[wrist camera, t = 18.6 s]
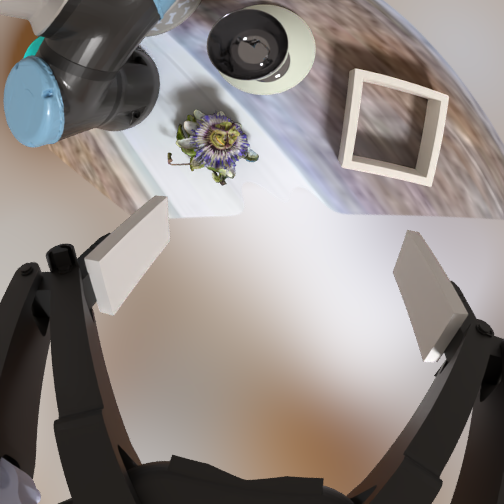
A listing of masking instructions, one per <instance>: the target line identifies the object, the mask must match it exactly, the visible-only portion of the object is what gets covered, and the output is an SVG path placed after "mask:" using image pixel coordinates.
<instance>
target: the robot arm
mask: <svg viewBox="0 0 504 504" xmlns="http://www.w3.org/2000/svg"><path fill="white" fill-rule="evenodd" d="M175 1H176V0H0V15H5V16H11V17H17V18H23V19H28V20H29V21H30V23H31V26H32V29H33V32H34V34H35V35H37V36H41V37H45V38H44V40H43V42H42V43H41V45H40V47H39V49H38V51H37V53H36V55H35V56H34V55H31V56H27V57H26V58H24V59H22V60H21V61H20V62H18V63H16V64H15V66H14V67H13V68H12V70H11V72H10V74H9V76H8V78H7V81H6V85H5V90H4V111H5V116H6V120H7V123H8V126H9V128H10V130H11V132H12V134H13V135H14V137H15V138H16V139H17V140H18V141H19V142H20V143H22V144H23V145H25V146H28V147H39V146H42V145H46V144H54V143H56V142H57V141H59V140H62V139H65V138H67V137H70V136H73V135H76V134H78V133H81V132H84V131H87V130H90V129H93V128H98V129H103V130H107V131H121V130H125V129H128V128H131V127H134V126H136V125H138V124H139V123H141V122H142V121H143V120H144V119H145V118H146V117H147V116H148V115H149V114H150V112H151V111H152V109H153V107H154V105H155V103H156V101H157V98H158V94H159V87H160V81H159V74H158V70H157V67H156V65H155V63H154V62H153V60H152V59H151V58H150V57H149V56H148V55H147V54H145V53H144V52H142V51H140V50H137V49H136V48H137V46H138V45H139V44H140V43H141V41H142V40H143V39H144V38H145V36H146V35H147V34H148V33H149V32H150V30H151V29H152V28H153V27H154V26H155V24H156V23H157V22H158V21H161V20H162V19H163V17H164V14H165V13H166V12H167V11H168V9H169V8H170V7H171V6H172V5H173V4H174V2H175ZM169 241H170V232H169V217H168V199H167V197H165V196H154V197H153V198H152V199H150V200H149V201H148V202H147V203H146V204H144V205H143V206H142V207H141V208H140V209H138V210H137V211H136V212H135V213H134V214H132V215H131V216H130V217H129V218H128V219H127V220H126V221H124V222H123V223H122V224H121V225H120V226H119V227H118V228H117V229H116V230H114V231H113V232H112V233H108V234H106V235H105V236H102V237H101V238H99V239H98V240H97V241H96V242H95V243H94V244H93V245H91V246H90V248H89V249H87V250H86V251H85V252H84V253H83V254H82V255H81V256H80V257H79V258H78V259H77V257H76V253H75V249H74V247H73V245H71V244H60V245H58V246H55V247H53V248H51V249H50V250H49V251H48V252H47V254H46V259H47V262H48V265H49V268H50V271H51V272H41V270H40V267H39V265H38V264H37V263H33V262H31V263H26V264H24V265H22V266H21V267H20V268H19V269H18V270H17V271H16V272H15V274H14V276H13V278H12V280H11V282H10V284H9V286H8V288H7V290H6V292H5V294H4V296H3V298H2V300H1V303H0V504H37V503H38V502H40V499H41V495H40V492H39V491H38V490H37V489H36V486H35V484H34V481H33V480H32V479H33V474H34V468H35V459H36V440H37V424H38V414H39V405H40V395H41V389H42V381H43V376H44V370H45V364H46V359H47V354H48V349H49V344H50V340H51V355H52V366H53V376H54V385H55V392H56V400H57V406H58V412H59V419H58V420H55V421H54V432H55V437H56V443H57V447H58V451H59V455H60V460H61V463H62V467H63V471H64V475H65V478H66V481H67V484H68V487H69V491H70V494H71V497H72V498H70V499H68V500H66V501H63V502H61V503H58V504H432V502H433V500H434V499H435V497H436V496H437V494H438V492H439V491H440V489H441V487H442V482H443V481H442V480H441V479H440V475H441V472H442V471H443V469H444V467H445V465H446V464H447V462H448V460H449V458H450V456H451V454H452V452H453V450H454V448H455V446H456V444H457V442H458V440H459V438H460V436H461V434H462V431H463V429H464V427H465V425H466V422H467V420H468V417H469V415H470V413H471V410H472V408H473V412H472V418H471V425H470V430H469V436H468V441H467V446H466V450H465V455H464V459H463V463H462V467H461V471H460V475H459V479H458V482H457V485H456V489H455V492H454V495H453V498H452V501H451V503H450V504H504V339H502V338H499V337H496V336H494V332H493V330H492V328H491V327H490V326H489V325H488V324H487V323H486V322H484V321H482V320H479V319H476V317H475V315H474V313H473V311H472V310H471V308H470V306H469V304H468V302H466V299H465V297H464V296H463V293H462V292H461V290H460V288H459V287H458V286H457V285H456V284H455V283H454V282H452V281H450V280H449V279H448V277H447V275H446V274H445V272H444V270H443V269H442V267H441V265H440V264H439V262H438V261H437V259H436V257H435V256H434V254H433V253H432V251H431V249H430V248H429V246H428V245H427V243H426V242H425V240H424V239H423V237H422V236H421V235H420V233H419V232H415V231H409V230H407V232H406V236H405V239H404V242H403V245H402V248H401V251H400V253H399V256H398V259H397V262H396V265H395V267H394V271H393V274H394V277H395V279H396V282H397V284H398V287H399V290H400V292H401V295H402V298H403V300H404V303H405V306H406V309H407V311H408V315H409V318H410V321H411V324H412V326H413V330H414V333H415V336H416V339H417V342H418V345H419V348H420V352H421V356H422V359H423V362H437V361H438V360H439V359H440V357H441V356H442V354H443V353H445V356H446V361H445V362H444V363H443V365H442V366H441V367H440V369H439V370H438V371H437V373H436V374H435V375H434V376H436V378H435V380H434V381H433V383H432V385H431V387H430V389H429V390H428V392H427V394H426V395H425V397H424V399H423V400H422V402H421V404H420V405H419V407H418V408H417V410H416V412H415V413H414V415H413V416H412V418H411V419H410V421H409V422H408V424H407V425H406V427H405V428H404V430H403V431H402V432H401V434H400V435H399V437H398V438H397V439H396V441H395V442H394V444H393V445H392V446H391V448H390V449H389V450H388V452H387V453H386V454H385V455H384V457H383V458H382V459H381V460H380V462H379V463H378V464H377V465H376V467H375V468H374V469H373V470H372V471H371V472H370V474H369V475H368V476H367V477H366V478H365V479H364V480H363V481H362V482H361V484H359V485H358V486H357V487H356V488H354V489H353V490H352V491H351V492H350V493H349V494H348V495H347V496H345V495H344V494H342V493H340V492H338V491H336V490H335V489H332V488H329V487H327V486H323V478H302V477H288V476H285V477H277V478H268V479H258V480H244V479H241V478H239V477H236V476H234V475H231V474H229V473H227V472H225V471H222V470H220V469H218V468H216V467H214V466H211V465H209V464H206V463H202V462H198V461H194V460H190V459H186V458H182V457H178V456H175V455H172V457H171V460H170V461H159V462H158V461H157V462H151V463H146V464H141V462H140V460H139V458H138V456H137V454H136V452H135V450H134V448H133V447H132V445H131V442H130V440H129V437H128V434H127V432H126V429H125V426H124V424H123V421H122V418H121V415H120V412H119V409H118V406H117V403H116V400H115V397H114V394H113V390H112V387H111V383H110V380H109V376H108V373H107V369H106V365H105V361H104V357H103V353H102V349H101V345H100V340H99V336H98V331H97V326H96V321H95V317H94V312H93V309H92V306H93V305H94V304H95V303H96V302H97V304H98V308H99V311H100V312H103V313H106V314H109V315H113V316H114V315H115V313H116V312H117V311H118V309H119V308H120V306H121V305H122V304H123V302H124V300H125V299H126V298H127V297H128V295H129V294H130V293H131V291H132V290H133V288H134V287H135V286H136V284H137V283H138V282H139V280H140V279H141V278H142V276H143V275H144V274H145V272H146V271H147V270H148V268H149V267H150V266H151V264H152V263H153V262H154V261H155V259H156V258H157V257H158V255H159V254H160V253H161V252H162V250H163V249H164V248H165V246H166V245H167V244H168V243H169Z"/></svg>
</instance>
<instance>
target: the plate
mask: <svg viewBox="0 0 504 504" xmlns="http://www.w3.org/2000/svg"><path fill="white" fill-rule="evenodd" d="M243 9H256V10H261V11H264V12H267V13H269V14H271V15H272V16H274V17H275V18H276V19H277V20H278V21H279V22H280V23H281V24H282V26H283V27H284V29H285V31H286V33H287V36H288V41H289V54H290V59H291V60H290V67H289V69H288V71H287V72H286V74H285V75H284V76H283V77H281V78H280V79H278V80H276V81H273V82H267V83H266V82H258V81H256V80H255V81H243V80H237V79H234V78H231V77H228V76H226V75H225V74H223V73H221V72H220V71H219V70H218V69H217V70H218V71H219V73H220V74H221V75H222V77H223V78H224V79H225V80H226V81H227V82H228V83H229V84H231V85H232V86H234V87H235V88H237V89H239V90H242V91H244V92H247V93H251V94H257V95H271V94H277V93H281V92H284V91H287V90H289V89H291V88H293V87H294V86H296V85H297V84H298V83H300V82H301V81H302V80H303V79H304V78H305V77H306V75H307V74H308V73H309V71H310V69H311V67H312V65H313V62H314V59H315V41H314V37H313V34H312V32H311V30H310V29H309V27H308V26H307V24H306V23H305V22H304V21H303V20H302V19H301V18H300V17H299V16H298V15H296V14H295V13H293V12H292V11H290V10H288V9H285V8H282V7H279V6H275V5H253V6H249V7H246V8H243Z"/></svg>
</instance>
